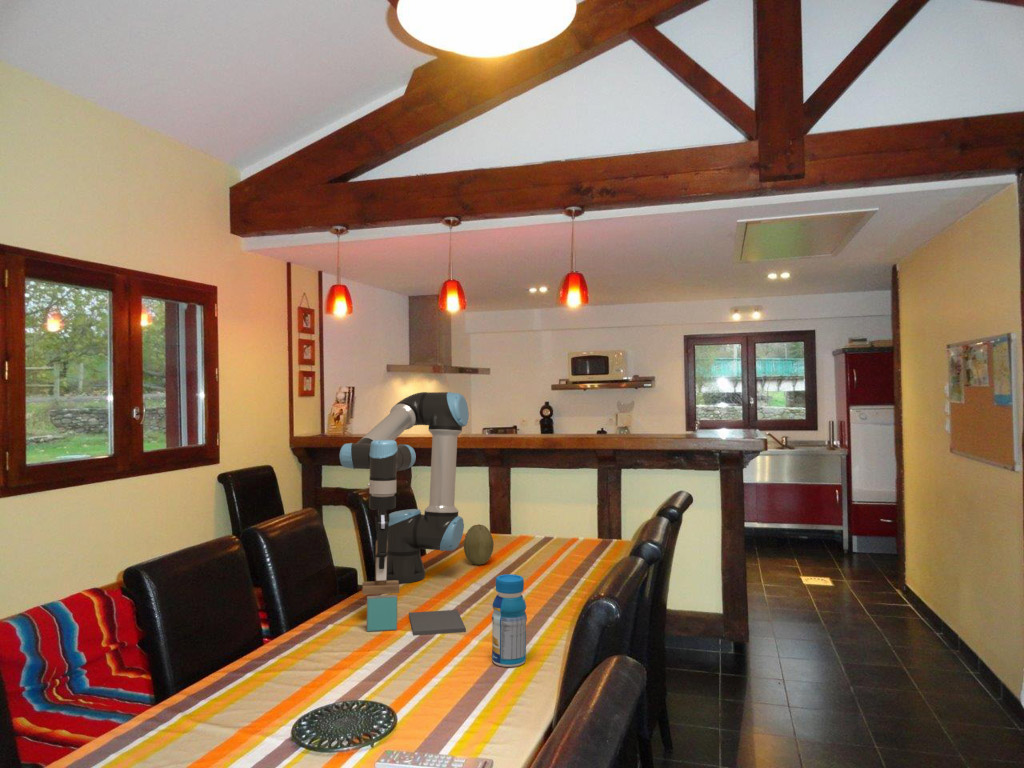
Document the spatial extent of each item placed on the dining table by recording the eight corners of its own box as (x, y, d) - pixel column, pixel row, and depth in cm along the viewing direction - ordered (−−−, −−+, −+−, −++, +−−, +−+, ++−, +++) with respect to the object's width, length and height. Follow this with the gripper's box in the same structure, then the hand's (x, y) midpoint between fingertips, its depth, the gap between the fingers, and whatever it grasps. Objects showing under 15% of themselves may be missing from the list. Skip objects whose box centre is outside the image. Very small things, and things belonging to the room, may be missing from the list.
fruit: (499, 563, 258) (499, 523, 258) (482, 569, 249) (482, 528, 249) (474, 559, 264) (475, 520, 265) (457, 565, 255) (457, 525, 255)
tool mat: (408, 616, 195) (408, 612, 195) (457, 613, 198) (457, 609, 198) (413, 635, 180) (413, 631, 180) (465, 631, 183) (465, 628, 183)
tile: (366, 629, 184) (367, 596, 184) (396, 627, 186) (396, 594, 186) (366, 632, 182) (367, 598, 182) (397, 630, 183) (397, 597, 184)
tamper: (362, 588, 193) (363, 539, 194) (398, 587, 196) (398, 538, 196) (362, 594, 187) (363, 543, 188) (399, 593, 190) (400, 542, 190)
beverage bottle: (514, 671, 157) (515, 584, 157) (484, 663, 162) (485, 578, 162) (532, 659, 164) (533, 576, 165) (503, 652, 169) (504, 571, 169)
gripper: (368, 491, 199) (367, 571, 199) (369, 499, 183) (367, 586, 183) (394, 490, 201) (393, 570, 200) (397, 498, 185) (396, 585, 185)
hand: (381, 578), depth 192 cm, fingers closed on tamper, 3 cm apart
